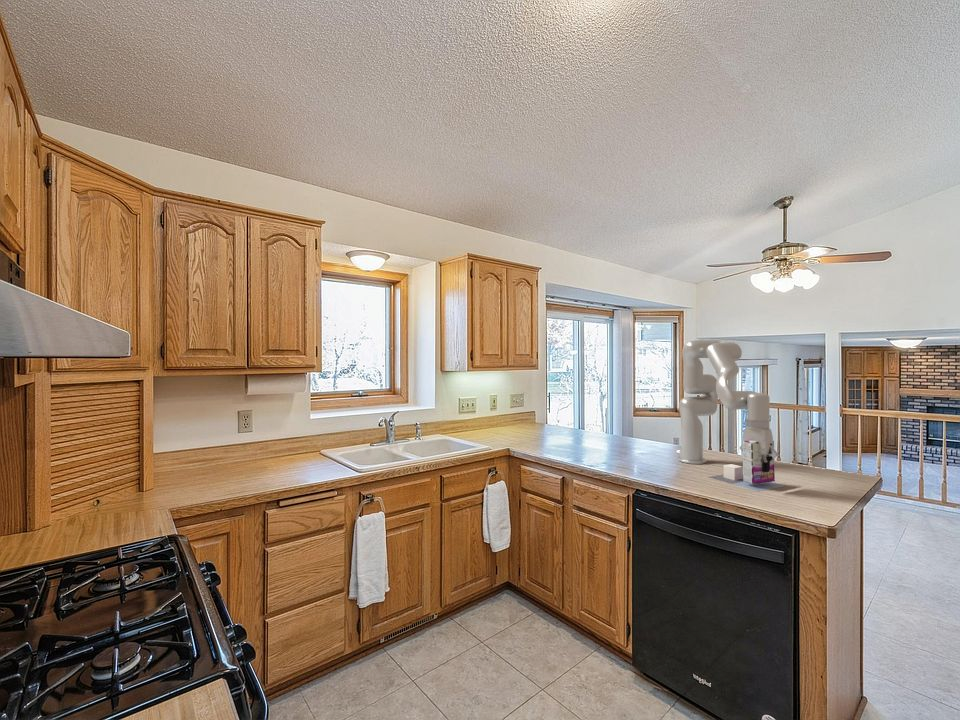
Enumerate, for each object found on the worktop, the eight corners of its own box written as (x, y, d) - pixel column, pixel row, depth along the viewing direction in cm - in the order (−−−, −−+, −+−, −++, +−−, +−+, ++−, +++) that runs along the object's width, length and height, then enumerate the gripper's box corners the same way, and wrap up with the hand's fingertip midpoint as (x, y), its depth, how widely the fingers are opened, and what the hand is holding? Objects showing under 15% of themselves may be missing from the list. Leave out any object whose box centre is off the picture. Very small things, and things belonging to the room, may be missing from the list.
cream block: (723, 477, 190) (723, 465, 190) (731, 475, 192) (731, 464, 192) (734, 480, 185) (734, 468, 185) (742, 478, 188) (742, 466, 187)
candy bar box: (764, 478, 183) (763, 438, 183) (775, 481, 178) (775, 440, 178) (741, 480, 180) (741, 439, 180) (752, 484, 175) (752, 442, 175)
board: (708, 479, 190) (708, 477, 190) (733, 474, 197) (733, 472, 197) (759, 493, 170) (759, 491, 170) (785, 487, 177) (785, 485, 177)
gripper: (731, 422, 185) (731, 466, 185) (773, 428, 169) (773, 476, 170) (744, 420, 188) (744, 464, 188) (786, 426, 172) (786, 474, 173)
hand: (758, 469), depth 179 cm, fingers closed on candy bar box, 5 cm apart
